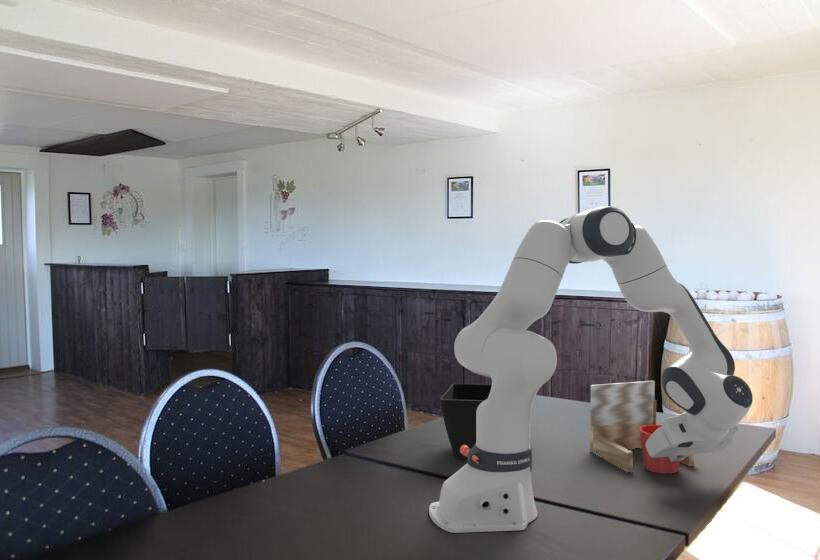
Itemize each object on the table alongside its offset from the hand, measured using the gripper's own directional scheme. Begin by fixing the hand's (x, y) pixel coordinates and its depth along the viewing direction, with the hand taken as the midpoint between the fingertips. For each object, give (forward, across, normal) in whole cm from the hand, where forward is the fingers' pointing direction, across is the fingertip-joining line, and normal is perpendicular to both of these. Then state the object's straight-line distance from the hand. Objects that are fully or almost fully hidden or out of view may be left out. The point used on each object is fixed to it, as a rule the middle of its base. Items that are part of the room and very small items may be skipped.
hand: (674, 458), depth 164 cm
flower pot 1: (+23, +38, -17) cm, 48 cm away
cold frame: (+12, 0, -6) cm, 14 cm away
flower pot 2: (+7, 0, -1) cm, 7 cm away
